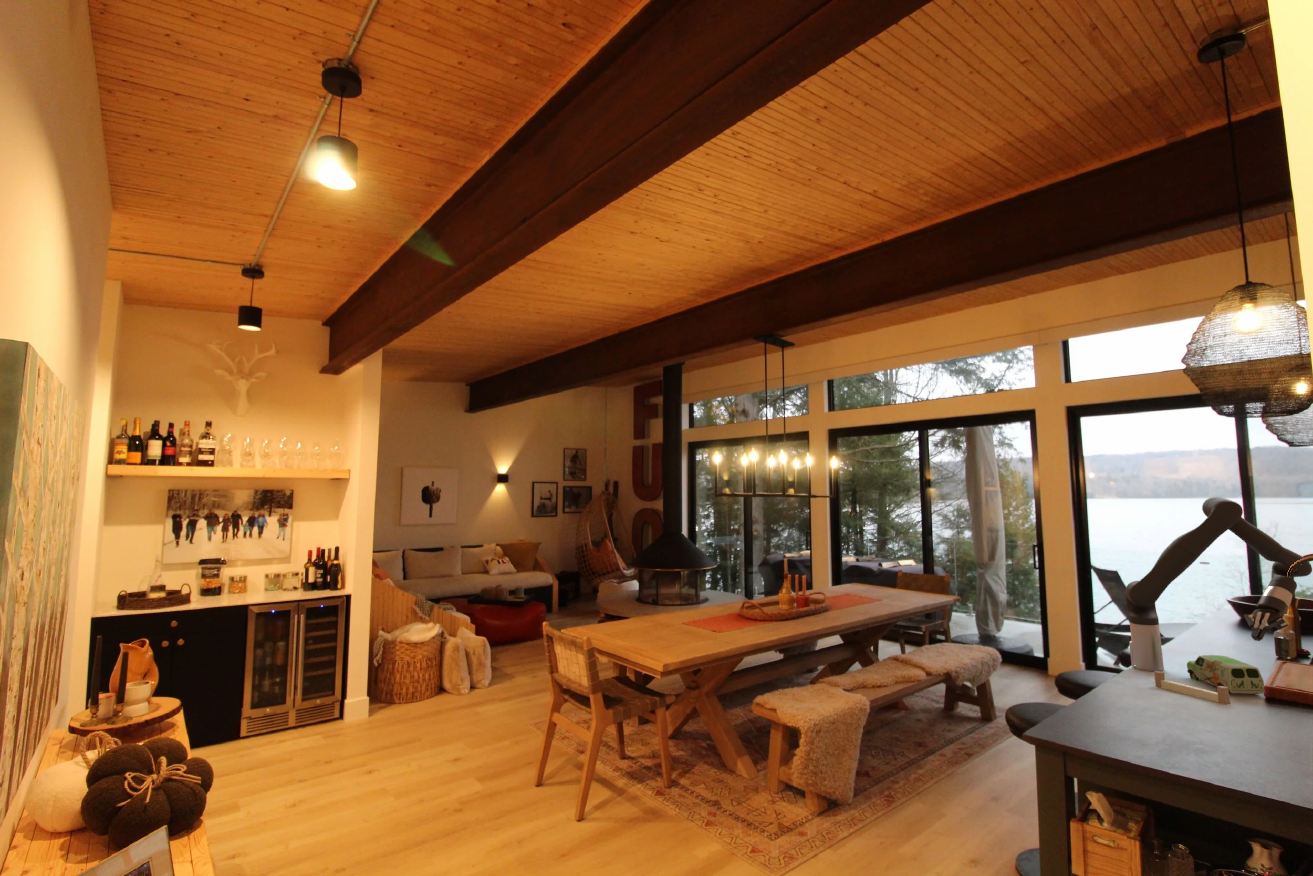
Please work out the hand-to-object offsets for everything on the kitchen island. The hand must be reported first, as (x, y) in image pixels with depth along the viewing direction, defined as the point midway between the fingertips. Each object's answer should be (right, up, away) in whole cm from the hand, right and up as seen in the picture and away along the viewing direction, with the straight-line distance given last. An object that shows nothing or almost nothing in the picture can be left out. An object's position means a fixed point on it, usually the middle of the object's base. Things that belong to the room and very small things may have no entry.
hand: (1255, 639), depth 229 cm
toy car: (-16, -15, -6) cm, 23 cm away
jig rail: (-34, -15, -12) cm, 39 cm away
